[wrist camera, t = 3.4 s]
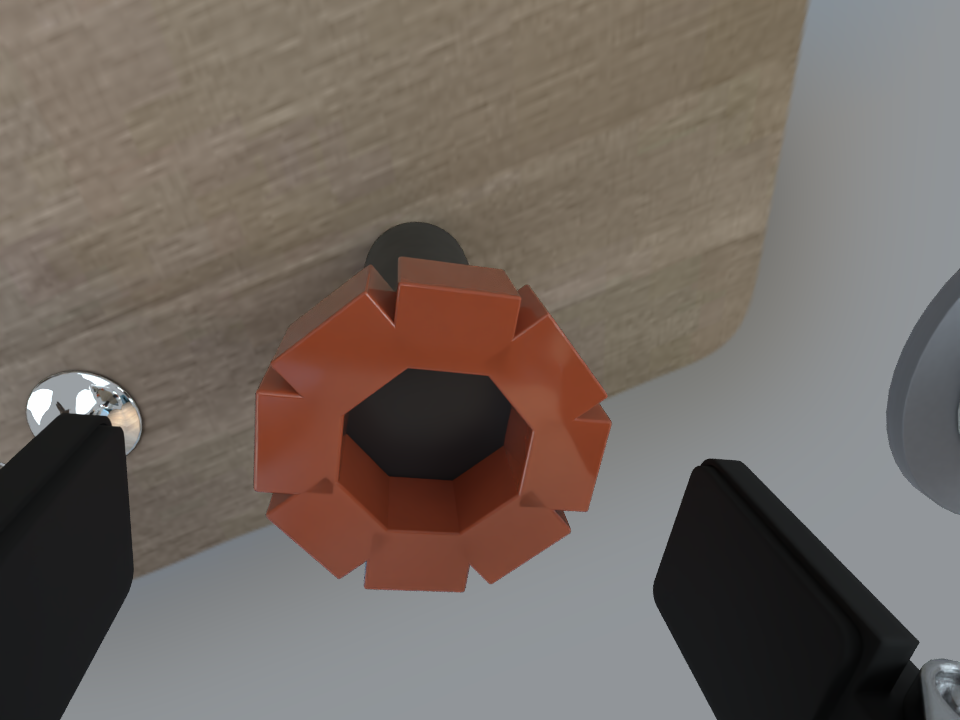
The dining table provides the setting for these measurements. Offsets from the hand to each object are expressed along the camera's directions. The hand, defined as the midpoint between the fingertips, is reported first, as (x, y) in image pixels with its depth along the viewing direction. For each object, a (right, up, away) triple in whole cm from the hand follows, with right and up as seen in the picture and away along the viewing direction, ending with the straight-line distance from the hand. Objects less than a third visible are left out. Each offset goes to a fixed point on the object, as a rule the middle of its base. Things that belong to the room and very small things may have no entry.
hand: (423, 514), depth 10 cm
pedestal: (-2, +6, +14) cm, 16 cm away
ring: (0, +1, +4) cm, 4 cm away
